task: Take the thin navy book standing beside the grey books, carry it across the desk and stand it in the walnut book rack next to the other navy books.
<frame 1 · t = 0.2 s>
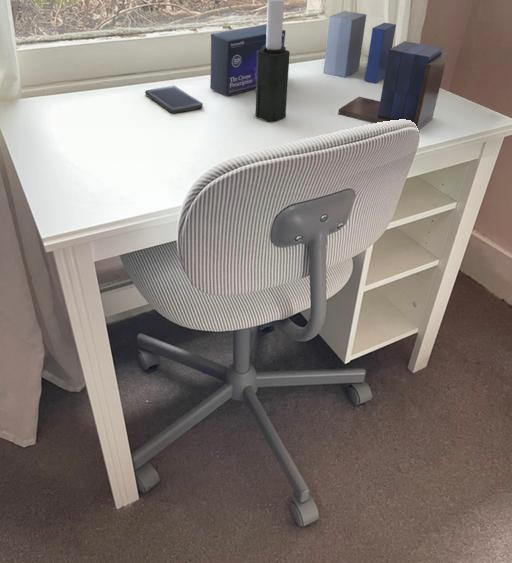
cell phone: (173, 101, 115), on the table
book rack: (385, 116, 112), on the table
grey books: (341, 71, 136), on the table
navy book: (375, 78, 132), on the table
box: (247, 87, 125), on the table
candle: (270, 117, 110), on the table
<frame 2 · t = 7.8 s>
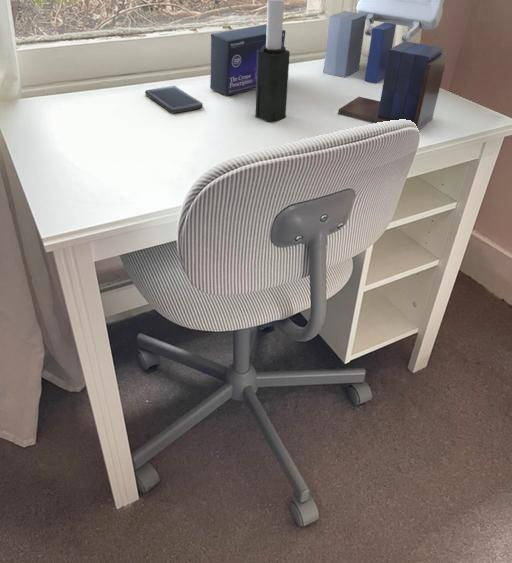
hand: (386, 37, 128), 9 cm above the table, tool tilted 45°, fingers open, 8 cm apart
nothing on the table moved.
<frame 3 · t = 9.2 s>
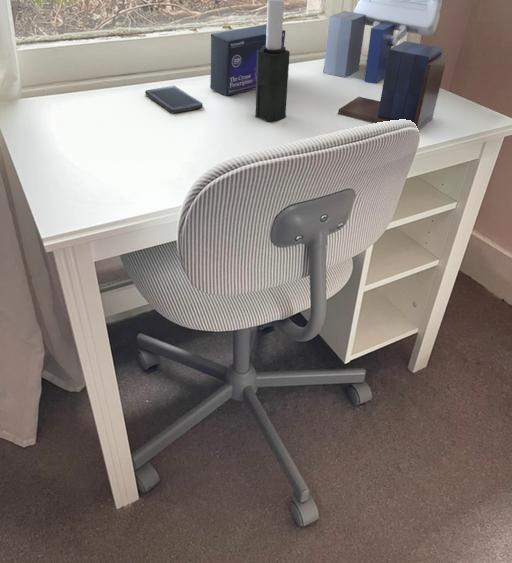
hand: (383, 43, 128), 8 cm above the table, tool tilted 45°, fingers closed on navy book, 3 cm apart
navy book: (375, 78, 131), on the table, touching gripper
everything else where it was.
when the fingers open (9 cm above the table, at t = 17.1 s): navy book stays where it is, resting on book rack.
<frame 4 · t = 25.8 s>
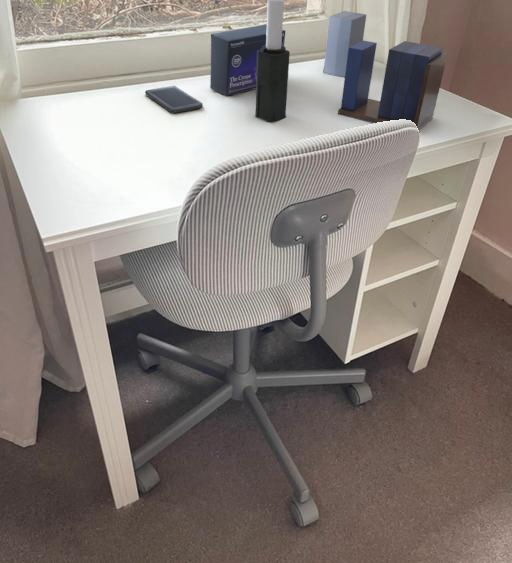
navy book: (354, 104, 114), point 1 cm above the table, touching book rack
everything else where it was.
at the end: navy book 0.3 cm from the target spot on the book rack, point 1.0 cm above the book rack's base; navy book tilted 0°; the gripper is holding nothing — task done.
